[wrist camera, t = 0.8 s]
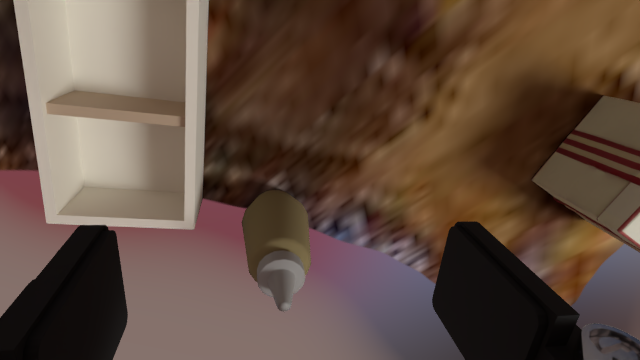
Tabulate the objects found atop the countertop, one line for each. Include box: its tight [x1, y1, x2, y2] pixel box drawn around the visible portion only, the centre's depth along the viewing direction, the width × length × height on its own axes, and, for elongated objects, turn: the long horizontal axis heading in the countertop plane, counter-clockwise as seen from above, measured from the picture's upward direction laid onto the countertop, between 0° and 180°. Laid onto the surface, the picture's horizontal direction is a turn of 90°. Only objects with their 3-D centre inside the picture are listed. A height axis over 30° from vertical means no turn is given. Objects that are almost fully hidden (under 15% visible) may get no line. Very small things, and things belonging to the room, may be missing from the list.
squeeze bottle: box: [242, 190, 311, 311], centre depth 41 cm, size 8×8×18 cm
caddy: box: [13, 0, 209, 230], centre depth 38 cm, size 24×14×8 cm, turn 172°
